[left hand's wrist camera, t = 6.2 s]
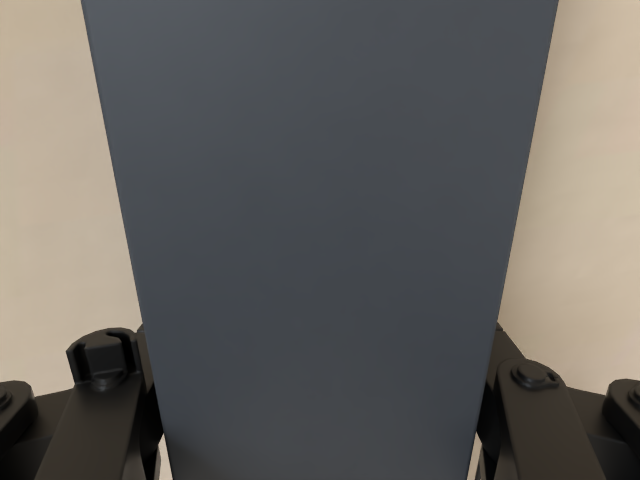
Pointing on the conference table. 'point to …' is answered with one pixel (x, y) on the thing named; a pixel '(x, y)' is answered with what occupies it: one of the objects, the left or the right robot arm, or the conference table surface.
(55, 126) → the conference table surface
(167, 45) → the post
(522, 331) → the conference table surface
